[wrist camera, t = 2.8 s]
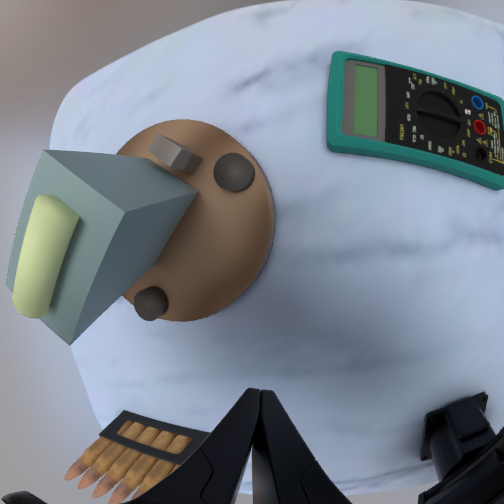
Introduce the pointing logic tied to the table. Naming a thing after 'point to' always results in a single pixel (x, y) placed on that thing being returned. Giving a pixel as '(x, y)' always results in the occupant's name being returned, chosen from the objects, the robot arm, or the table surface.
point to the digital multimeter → (414, 118)
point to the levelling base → (205, 222)
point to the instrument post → (90, 234)
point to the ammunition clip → (134, 455)
